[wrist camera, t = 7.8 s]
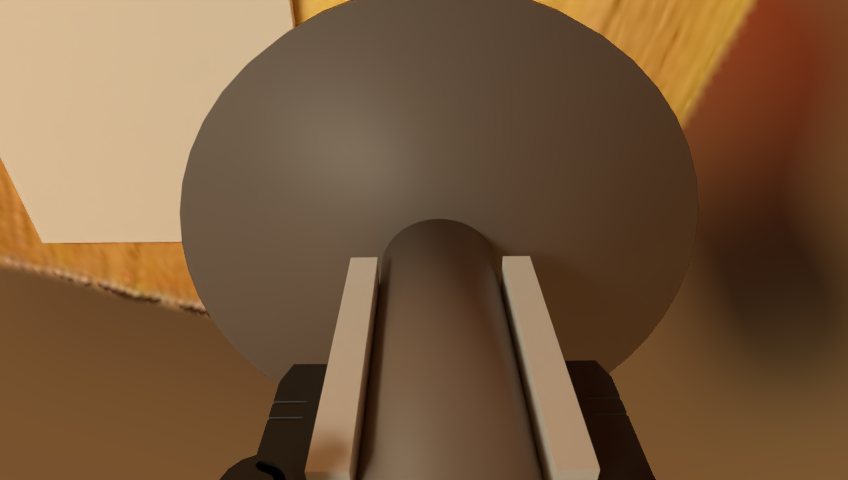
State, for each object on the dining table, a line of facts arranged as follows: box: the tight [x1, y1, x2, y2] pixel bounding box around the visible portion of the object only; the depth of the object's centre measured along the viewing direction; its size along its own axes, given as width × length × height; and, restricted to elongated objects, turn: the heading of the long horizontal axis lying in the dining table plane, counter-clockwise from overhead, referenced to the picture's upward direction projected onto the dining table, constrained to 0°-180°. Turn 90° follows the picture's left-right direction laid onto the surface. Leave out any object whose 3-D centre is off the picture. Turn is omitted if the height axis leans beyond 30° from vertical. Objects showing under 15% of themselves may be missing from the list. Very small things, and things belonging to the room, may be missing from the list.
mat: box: [0, 0, 296, 243], centre depth 28 cm, size 18×18×1 cm
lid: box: [180, 0, 698, 480], centre depth 13 cm, size 16×16×10 cm
